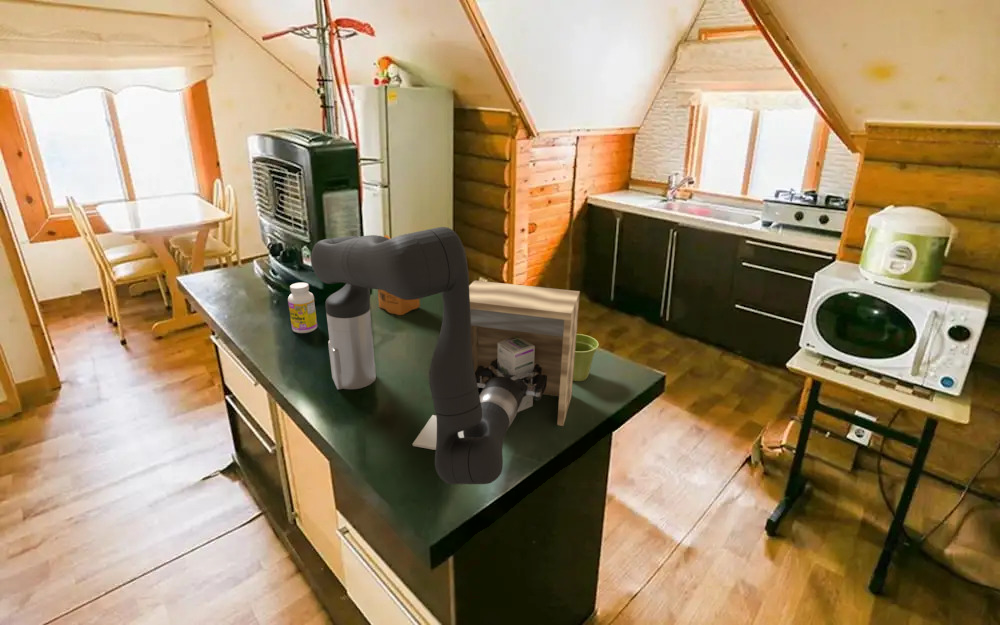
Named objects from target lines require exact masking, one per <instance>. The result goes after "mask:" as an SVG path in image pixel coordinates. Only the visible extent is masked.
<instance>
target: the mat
mask: <svg viewBox="0 0 1000 625" xmlns="http://www.w3.org/2000/svg"><path fill="white" fill-rule="evenodd" d="M458 436H459V438H464V435H463V431H461V432H458ZM436 441H437V418H436V414H435V415H434V414H432V415H431V416H430V418H429V419H428V421H427V422H426V424H425V425H424V427H423V428H422V429H421V430H420V433H418V435H417V437H416V438H415V440H414V441H413V443H412V446H413V447H416V448H417V447H418V448H424V449H429V450H432V451H433V450H435V451H436Z"/></svg>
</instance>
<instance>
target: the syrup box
mask: <svg viewBox="0 0 1000 625" xmlns="http://www.w3.org/2000/svg"><path fill="white" fill-rule="evenodd" d="M497 351H498V352H497V370H498V371H499V372H500V373H501V374H508V375H515V376H519V375H522V374H524V373H527V374H530V373H533V370H534V356H535V346H534V345H532V344H530V343H529V342H527V341H525V340H523V339H522V338H520V337H513V338H509V339H506V340H503V341H501V342H498V350H497ZM523 381H524V380H523ZM531 381H532V379H531ZM531 388H532V387H531ZM533 406H534V396H532V395H526V396H525V397H523V399H522V401H521V404H520V406H519V408H518V411H517V413H519V412H521V411H524V410H527V409H529V408H531V407H533Z"/></svg>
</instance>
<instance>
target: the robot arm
mask: <svg viewBox="0 0 1000 625" xmlns="http://www.w3.org/2000/svg"><path fill="white" fill-rule="evenodd" d="M390 238H391V237H390ZM310 263H311V267H312V269H313V272H314V274H315V276H316V277H317V278H318V279H319V280H320V281H321V282H322V283H324V284H327V285H328V284H329V285H333V284H339V283H343V284H345V285H343V287H341V288H340V289H338V290H337V291H335V292H333V293H332V294H330V295H329V296H328V297H327V298H326V300H325V313H326V314H325V315H326V322H327V330H328V339H329V340H328V341H327V343H328V353H329V361H330V369H331V379H332V380H333V382H334V385H335V387H336V389H337V390H343V389H344V390H358V389H362V388H366V387H367V386H370V385H371V384H373V383H374V382H375V381H376V380H377V379H376V377H377V375H376V374H377V373H376V372H377V370H376V362H375V350H374V338H373V328H372V326H373V325H372V314H371V290H377V289H378V290H384V291H386V292H388V293H390V294H392V295H394V296H396V297H398V298H401V299H405V300H415V299H419V300H420V299H422V298H427V297H431V296H434V295H438V294H441V295H442V304H443V314H442V320H441V321H442V322H441V327H440V331H439V335H438V339H437V341H436V345H435V348H434V351H433V354H432V357H431V361H430V366H429V372H428V373H429V375H428V379H429V380H428V382H429V389H430V390H429V391H430V394H431V399H432V402H433V403H432V404H433V408H434V413H435V415H436V418H437V441H436V450H435V452H434V453H435V454H434V467H435V471H436V474H437V475H438V476H439V478H440V480H442V481H443V482H444V483H445V484H448V485H449V484H450V485H488V484H491V483H493V482H495V481H496V480H497V479H499V477H500V475H501V474H502V472H503V468H504V467H503V463H504V456H503V448H504V447H503V444H504V439H505V437H506V434H507V433H508V432H507V431H508V429H509V428H510V426H511V425H512V423H514V422H513V421H514V420H515V418H516V416H517V414H518V412H517V411H518V408H519V406H520V404H521V401H522V399H523V397H525V396H526V395H532V396H533V400H535V401H540V400H541V399H542V397H543V395H544V394H543V393H544V391H545V389H546V386H547V375H541V374H542V368H541V367H539V364H536V365H535V367H534V370H533V373H530V374H527V373H524V374H522V375H519V376H515V375H508V374H501V373H500V372H499V371H498V370H497V359H496V360H493V361H492V362H491V364H490V365H489V366H487V368H484V366H478V368H477V370H476V372H475V371H474V365H473V356H472V344H471V313H470V293H469V285H470V279H469V278H470V276H469V267H468V259H467V255H466V251H465V248H464V245H463V242H462V240H461V238H460V236H459V235H458V234H457V233H456V232H455V231H454V230H453V229H452V228H450V227H446V226H440V227H434V228H429V229H423V230H420V231H413V232H409V233H404V234H400V235H398V236H394V237H392V238H391V239H388V238H386V237H384V235H377V234H376V235H375V234H374V235H373V234H371V235H362V236H358V235H350V236H349V235H348V236H340V237H333V238H332V237H331V238H325V239H322V240H321V239H320V240H318V241H317V242H316V243H315V244H314V245H313V248H312V249H311V255H310ZM378 290H377V291H378ZM486 376H487V378H488V380H486V382H485V381H484V380H483V378H484V377H486ZM531 379H532V381H531ZM523 380H524V381H523ZM531 387H532V388H531ZM480 388H482V390H481V392H479V389H480ZM461 431H463V435H464V438H459V436H458V432H461Z"/></svg>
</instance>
